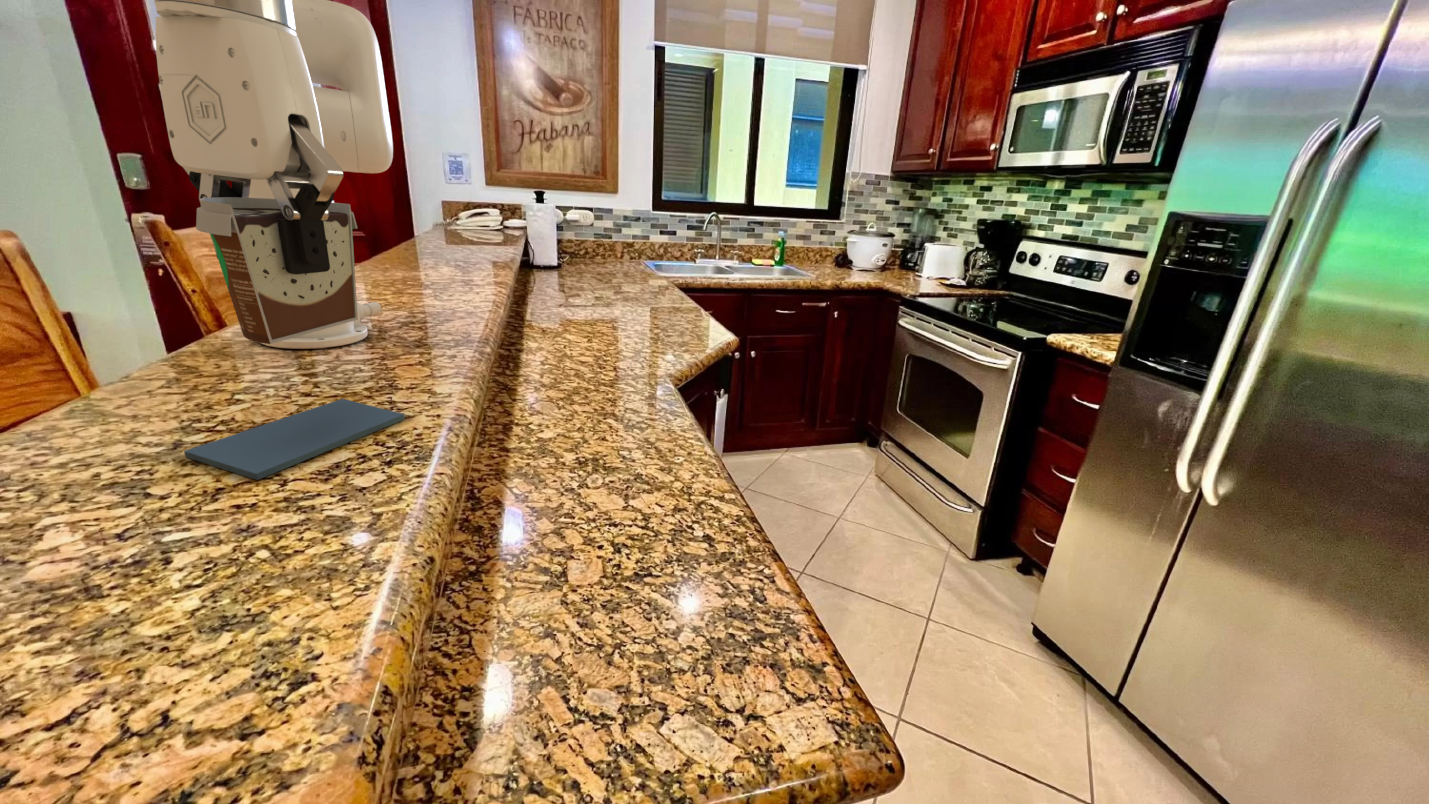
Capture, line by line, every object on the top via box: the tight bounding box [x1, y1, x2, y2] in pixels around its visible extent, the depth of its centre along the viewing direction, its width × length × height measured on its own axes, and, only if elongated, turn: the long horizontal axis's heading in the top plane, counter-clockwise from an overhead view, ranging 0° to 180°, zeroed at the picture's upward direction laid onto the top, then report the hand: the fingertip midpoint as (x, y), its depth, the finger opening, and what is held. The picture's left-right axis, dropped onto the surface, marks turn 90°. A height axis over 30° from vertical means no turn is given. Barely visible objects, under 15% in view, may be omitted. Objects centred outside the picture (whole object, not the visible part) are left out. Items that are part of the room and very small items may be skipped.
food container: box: [195, 197, 358, 344], centre depth 44 cm, size 12×6×10 cm, turn 174°
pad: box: [183, 398, 406, 481], centre depth 50 cm, size 14×8×1 cm, turn 162°
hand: (274, 264), depth 44 cm, fingers closed on food container, 6 cm apart
